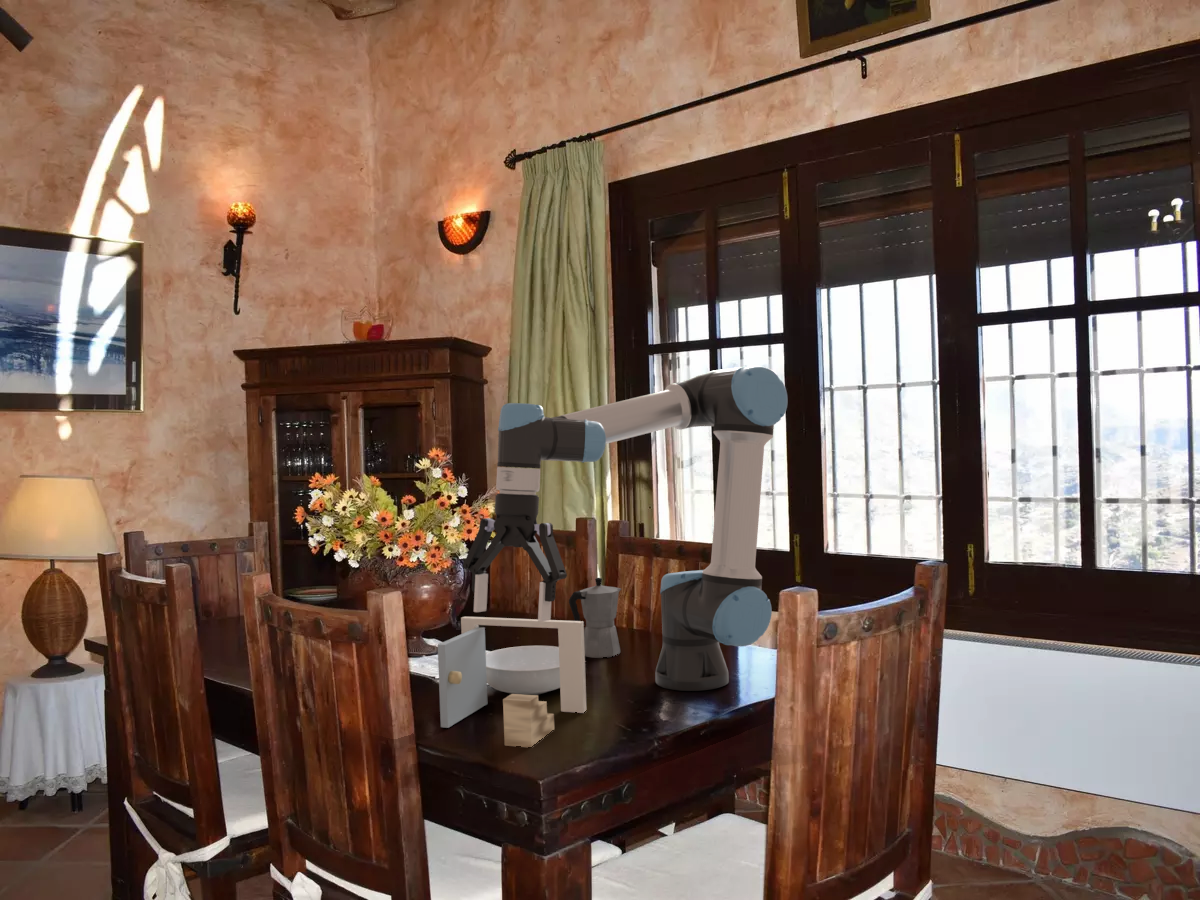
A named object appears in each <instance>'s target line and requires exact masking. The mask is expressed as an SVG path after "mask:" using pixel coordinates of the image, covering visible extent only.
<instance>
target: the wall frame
mask: <svg viewBox="0 0 1200 900" xmlns="http://www.w3.org/2000/svg"><path fill="white" fill-rule="evenodd" d="M584 622H585V621H583V620H582V621H581V620H580V621H575V620H561V619H560V620H558V619H557V620H556V619H551V620H547V621H542V622H541V621H538V618H536V619H535V618H534V619H533V618H532V619H531V618H514V617H513V618H511V617H510V618H509V617H508V618H507V617H487V616H486V617H485V616H462V617H460V624H461V625H460V626H461V627H460V628H461V634H463V633H465V632H468V631H470V630H472V629H474V628H477V627H480V626H497V627H500V626H501V627H520V628H522V627H523V628H542V629H547V628H548V629H557V633H558V635H557V637H558V647H559V667H560V688H559V689H560V695H559V697H560V712H564V713H575V712H577V714H578V713H579V714H585V713H586V712H587V711H586V710H587V686H586V685H587V684H586V683H587V682H586V656H585V650H584V630H585V627H584V626H585V624H584ZM585 711H586V712H585ZM584 712H585V713H584Z"/></svg>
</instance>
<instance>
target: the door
mask: <svg viewBox="0 0 1200 900" xmlns="http://www.w3.org/2000/svg"><path fill="white" fill-rule="evenodd" d="M485 629H486V627H484V626H479V627H477V628H474V629H472V630H470V631H468V632H465V633H463V634H462V633H461V634H459V635H457V636H456V635H455V636H454V637H452V638H450V639H447V640H444V641H443V642H441V643H438V644H437V657H438V659H437V663H438V667H437V668H438V687H439V688H438V690H439V712H440V713H439V714H440V715H439V717H440V728H446V729H447V728H448V729H449V728H450V727H452V726H453V725H455V724H457V723H459V722H460V721H462V720H463V719H465V718H467V717H469V716H470V715H472V714H473V713H475V712H477V711H478V710H480V709H482V708H483V707H484V706H487V705H488V684H487V676H486V653H487V652H486V650H487V649H486V630H485Z"/></svg>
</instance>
